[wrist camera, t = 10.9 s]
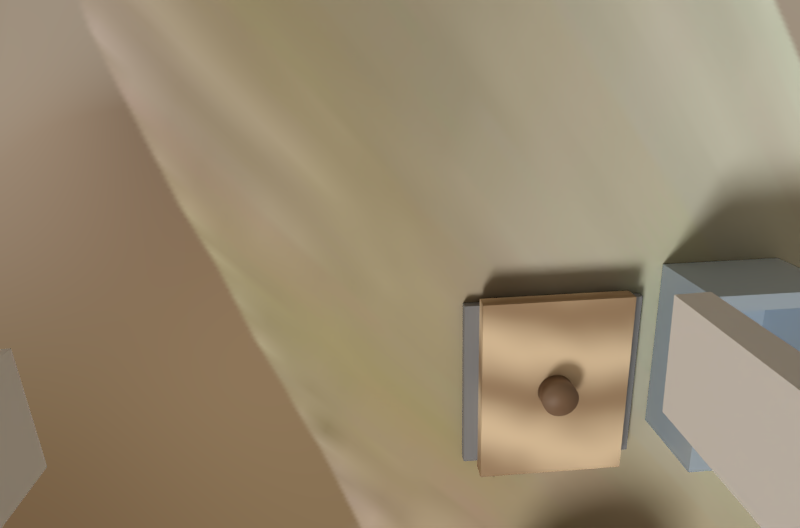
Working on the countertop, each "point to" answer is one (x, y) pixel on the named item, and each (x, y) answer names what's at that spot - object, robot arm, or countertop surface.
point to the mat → (472, 378)
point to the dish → (741, 288)
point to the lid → (553, 381)
